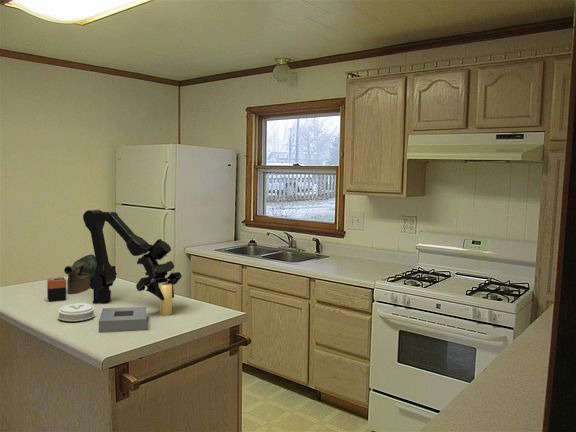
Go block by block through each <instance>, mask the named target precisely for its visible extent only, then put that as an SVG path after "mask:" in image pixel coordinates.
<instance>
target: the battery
mask: <svg viewBox="0 0 576 432" xmlns="http://www.w3.org/2000/svg"><path fill="white" fill-rule="evenodd" d="M46 283H47V285H46V287H47V291H46V292H47V298H46V299H47V301H48V303H52V302H61V301H66V300H67V279H66V278H65V277H64V276H63V275H62V276H61V275H60V276H57V277H56V278H55V277H50V278H48V279H47V281H46Z"/></svg>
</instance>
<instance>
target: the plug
mask: <svg viewBox="0 0 576 432" xmlns="http://www.w3.org/2000/svg"><path fill="white" fill-rule="evenodd" d="M160 290H161V292H162V294H163V296H164V300H161V299H160V303H159V305H160V308H159V309H160V311H159V314H160V316H163V317H165V316H166V317H167V316H168V317H169V316H172V311H173V308H172V307H173V305H172V304H173V298H172V284H170V283H164V282H163V283H160Z"/></svg>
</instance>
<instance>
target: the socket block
mask: <svg viewBox="0 0 576 432" xmlns="http://www.w3.org/2000/svg"><path fill="white" fill-rule="evenodd" d="M147 310H148V309H147V306H132V307H131V306H128V307H125V306H123V307H105V308H104V307H103V308H102V310H101V312H100V316H99V319H98V333H108V332H109V333H112V332H130V331H147Z"/></svg>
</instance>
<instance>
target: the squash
mask: <svg viewBox="0 0 576 432" xmlns="http://www.w3.org/2000/svg"><path fill="white" fill-rule="evenodd" d="M81 262H83V263H84V264H85V266H84V272H85V273H89V274H90V283H91V282H92V281H93V280H94V279H95V269H96V266H97V263H96V258H95V254H94V253H93V254H92V253H91V254H87V255H84V256H83V257H81V258H79V259H77V260H76V261H73V263H72V265H71V266H75V265H76V264H79V263H81ZM79 271H80V269H77V270H76V272H79Z"/></svg>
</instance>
